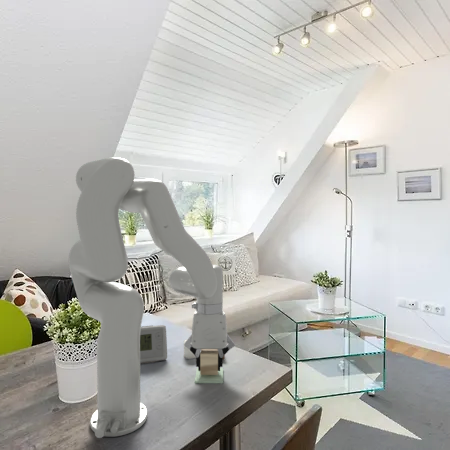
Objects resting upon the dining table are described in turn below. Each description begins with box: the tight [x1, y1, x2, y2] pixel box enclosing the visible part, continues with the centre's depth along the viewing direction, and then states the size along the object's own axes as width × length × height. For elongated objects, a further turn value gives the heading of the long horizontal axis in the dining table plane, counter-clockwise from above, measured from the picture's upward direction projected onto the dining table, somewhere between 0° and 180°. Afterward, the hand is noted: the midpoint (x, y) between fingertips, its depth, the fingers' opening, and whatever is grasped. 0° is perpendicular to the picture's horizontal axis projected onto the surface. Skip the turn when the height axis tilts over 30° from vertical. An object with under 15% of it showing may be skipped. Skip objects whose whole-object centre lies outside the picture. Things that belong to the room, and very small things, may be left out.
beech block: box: [200, 349, 218, 375], centre depth 101 cm, size 5×5×6 cm
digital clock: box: [140, 324, 168, 365], centre depth 111 cm, size 16×9×11 cm, turn 95°
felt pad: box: [194, 367, 224, 384], centre depth 101 cm, size 8×8×1 cm
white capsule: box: [183, 339, 196, 360], centre depth 115 cm, size 4×4×5 cm
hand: (209, 368), depth 101 cm, fingers closed on beech block, 5 cm apart
